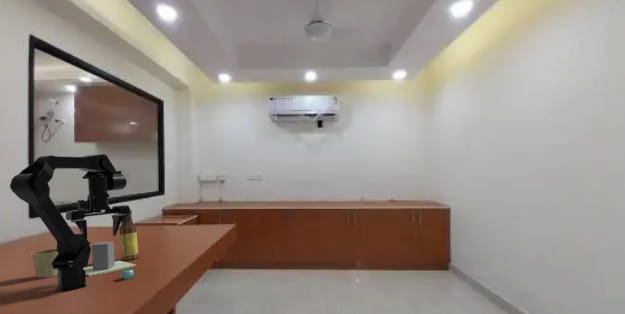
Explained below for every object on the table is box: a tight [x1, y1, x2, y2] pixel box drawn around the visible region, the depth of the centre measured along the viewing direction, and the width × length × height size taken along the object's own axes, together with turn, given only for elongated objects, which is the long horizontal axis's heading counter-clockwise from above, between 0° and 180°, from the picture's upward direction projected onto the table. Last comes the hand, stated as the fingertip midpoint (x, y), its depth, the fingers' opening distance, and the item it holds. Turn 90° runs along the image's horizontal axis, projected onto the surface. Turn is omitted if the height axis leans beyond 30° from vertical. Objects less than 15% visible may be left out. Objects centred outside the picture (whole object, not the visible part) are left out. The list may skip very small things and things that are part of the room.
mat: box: [83, 260, 137, 277], centre depth 150 cm, size 16×14×1 cm
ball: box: [120, 268, 134, 280], centre depth 134 cm, size 4×4×2 cm
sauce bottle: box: [118, 208, 139, 261], centre depth 166 cm, size 7×6×20 cm
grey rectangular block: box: [91, 240, 116, 270], centre depth 148 cm, size 5×5×9 cm
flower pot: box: [29, 248, 58, 279], centre depth 144 cm, size 9×9×9 cm
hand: (100, 238), depth 138 cm, fingers open, 9 cm apart
